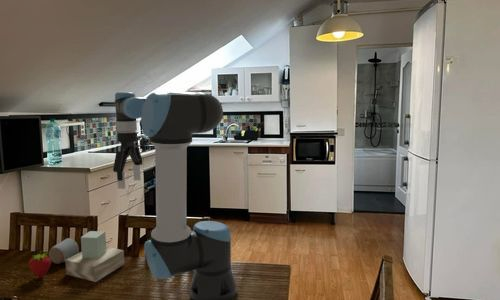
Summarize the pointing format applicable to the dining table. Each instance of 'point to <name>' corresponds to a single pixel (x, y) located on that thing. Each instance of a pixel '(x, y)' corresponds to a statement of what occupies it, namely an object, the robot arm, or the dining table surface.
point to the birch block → (95, 265)
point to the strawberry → (40, 264)
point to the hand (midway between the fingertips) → (129, 184)
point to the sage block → (93, 244)
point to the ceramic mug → (63, 251)
